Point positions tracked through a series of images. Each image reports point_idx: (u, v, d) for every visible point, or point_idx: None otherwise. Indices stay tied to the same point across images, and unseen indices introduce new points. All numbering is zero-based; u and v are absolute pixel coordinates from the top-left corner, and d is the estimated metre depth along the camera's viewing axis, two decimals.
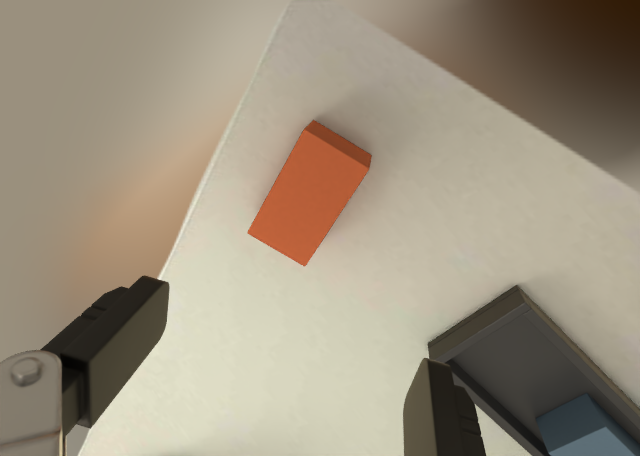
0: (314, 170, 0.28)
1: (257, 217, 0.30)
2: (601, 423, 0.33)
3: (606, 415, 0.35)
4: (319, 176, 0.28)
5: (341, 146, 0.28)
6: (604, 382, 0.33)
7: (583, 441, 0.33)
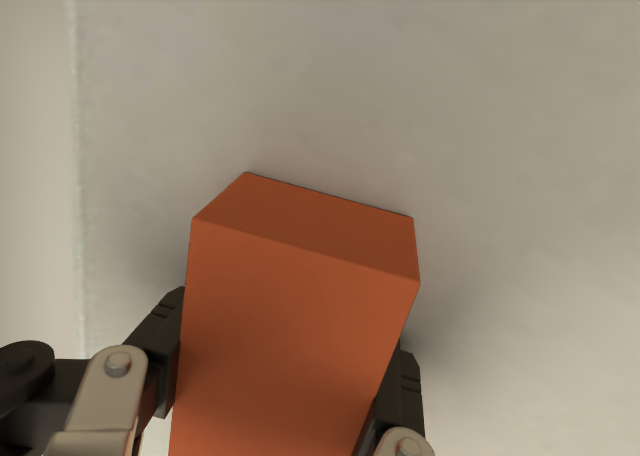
0: (261, 319, 0.10)
1: (172, 446, 0.12)
2: None
3: None
4: (281, 332, 0.10)
5: (321, 230, 0.10)
6: None
7: None
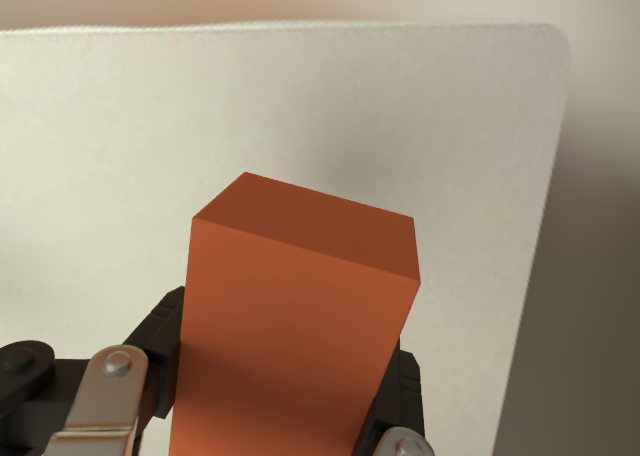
0: (261, 319, 0.10)
1: (172, 446, 0.12)
2: None
3: None
4: (281, 331, 0.10)
5: (321, 230, 0.10)
6: None
7: None
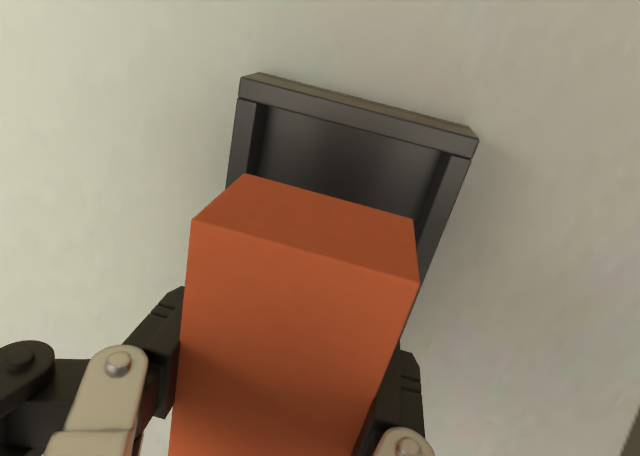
0: (261, 320, 0.10)
1: (172, 447, 0.12)
2: None
3: None
4: (281, 333, 0.10)
5: (321, 231, 0.10)
6: None
7: None
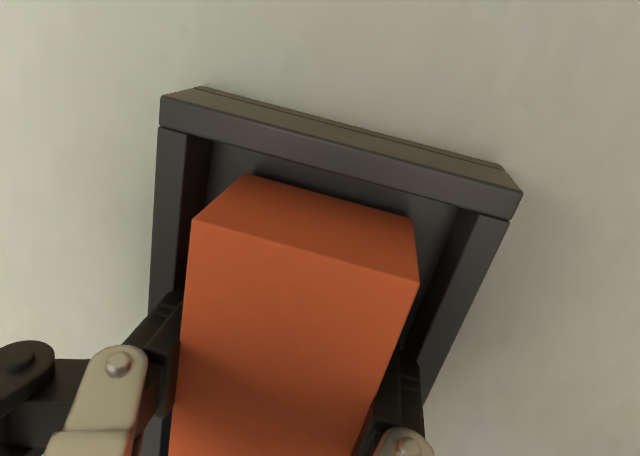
0: (261, 320, 0.10)
1: (172, 447, 0.12)
2: None
3: None
4: (281, 332, 0.10)
5: (321, 231, 0.10)
6: None
7: None
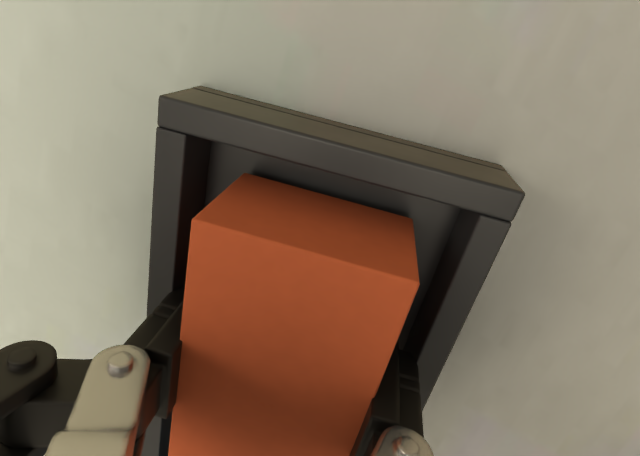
0: (261, 320, 0.10)
1: (172, 446, 0.12)
2: None
3: None
4: (280, 332, 0.10)
5: (320, 231, 0.10)
6: None
7: None
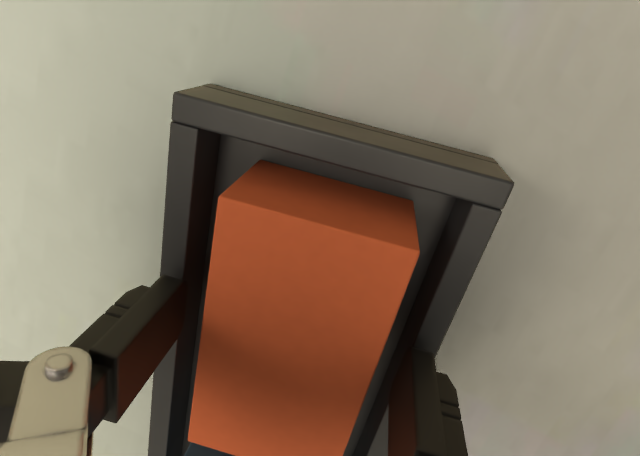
0: (278, 287, 0.11)
1: (194, 409, 0.13)
2: None
3: None
4: (296, 299, 0.11)
5: (331, 209, 0.11)
6: None
7: None
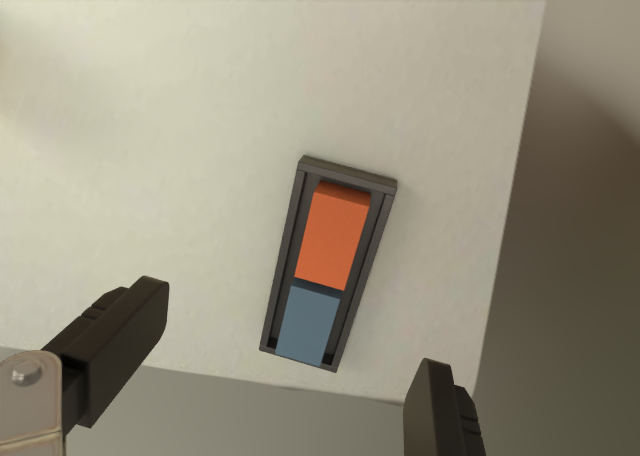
0: (329, 218, 0.37)
1: (298, 263, 0.40)
2: (339, 296, 0.41)
3: None
4: (334, 222, 0.37)
5: (345, 195, 0.37)
6: (366, 279, 0.41)
7: (318, 297, 0.41)
